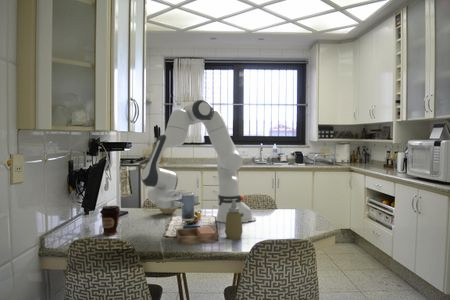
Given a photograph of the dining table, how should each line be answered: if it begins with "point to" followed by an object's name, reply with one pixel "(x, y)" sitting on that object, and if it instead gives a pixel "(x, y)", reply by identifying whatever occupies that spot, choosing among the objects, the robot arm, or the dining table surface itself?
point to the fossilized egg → (167, 210)
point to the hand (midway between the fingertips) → (189, 203)
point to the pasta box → (205, 231)
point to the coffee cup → (110, 219)
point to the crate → (194, 236)
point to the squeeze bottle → (233, 223)
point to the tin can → (188, 206)
